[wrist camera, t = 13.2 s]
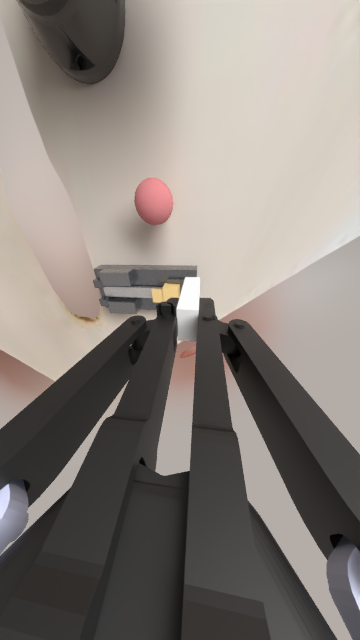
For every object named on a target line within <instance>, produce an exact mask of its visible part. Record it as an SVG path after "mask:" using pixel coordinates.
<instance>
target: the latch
mask: <svg viewBox="0 0 360 640" xmlns="http://www.w3.org/2000/svg"><path fill="white" fill-rule="evenodd" d="M152 297H153V302H156V303H160V302H165V301H167V300H168V299H169V298H180V283H165V284H164V286H163V288H162V289H152Z"/></svg>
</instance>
